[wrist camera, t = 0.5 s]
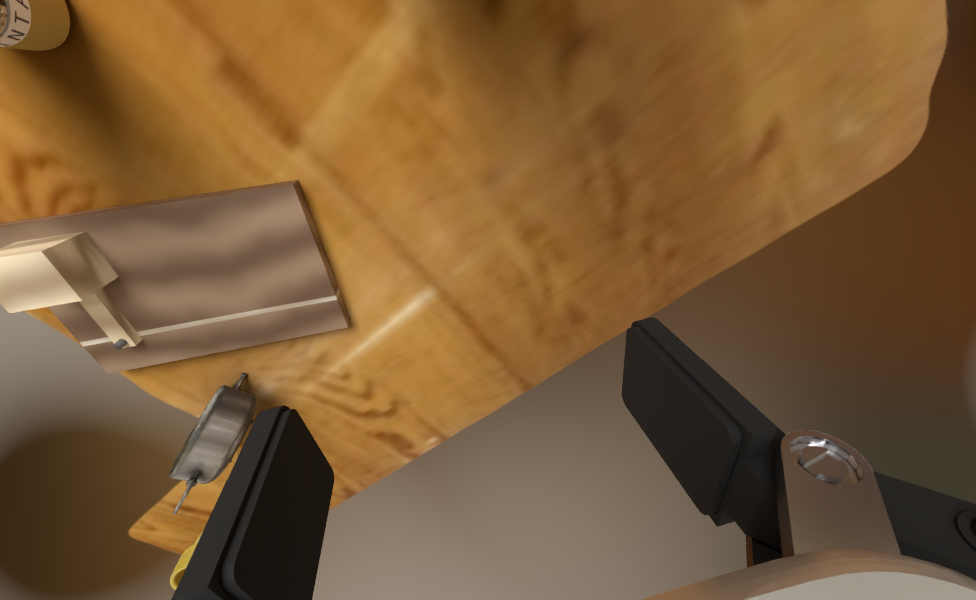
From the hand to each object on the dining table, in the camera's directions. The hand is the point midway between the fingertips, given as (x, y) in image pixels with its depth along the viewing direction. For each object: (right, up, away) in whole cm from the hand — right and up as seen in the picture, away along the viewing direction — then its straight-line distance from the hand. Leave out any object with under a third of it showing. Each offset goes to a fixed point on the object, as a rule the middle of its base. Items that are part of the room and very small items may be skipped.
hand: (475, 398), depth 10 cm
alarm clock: (-35, -11, +40) cm, 54 cm away
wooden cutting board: (-32, +5, +31) cm, 45 cm away
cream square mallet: (-41, +3, +28) cm, 50 cm away
